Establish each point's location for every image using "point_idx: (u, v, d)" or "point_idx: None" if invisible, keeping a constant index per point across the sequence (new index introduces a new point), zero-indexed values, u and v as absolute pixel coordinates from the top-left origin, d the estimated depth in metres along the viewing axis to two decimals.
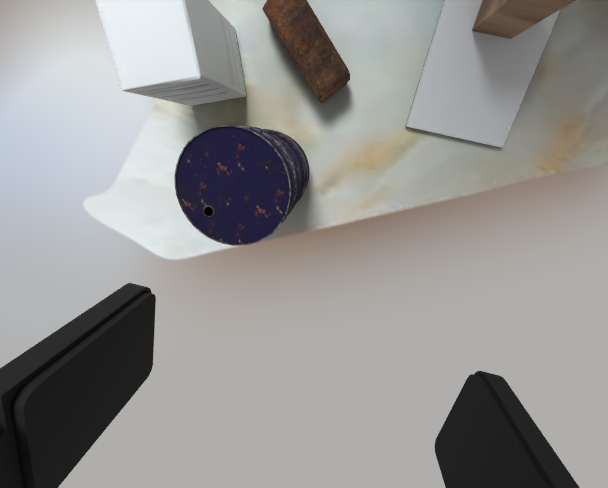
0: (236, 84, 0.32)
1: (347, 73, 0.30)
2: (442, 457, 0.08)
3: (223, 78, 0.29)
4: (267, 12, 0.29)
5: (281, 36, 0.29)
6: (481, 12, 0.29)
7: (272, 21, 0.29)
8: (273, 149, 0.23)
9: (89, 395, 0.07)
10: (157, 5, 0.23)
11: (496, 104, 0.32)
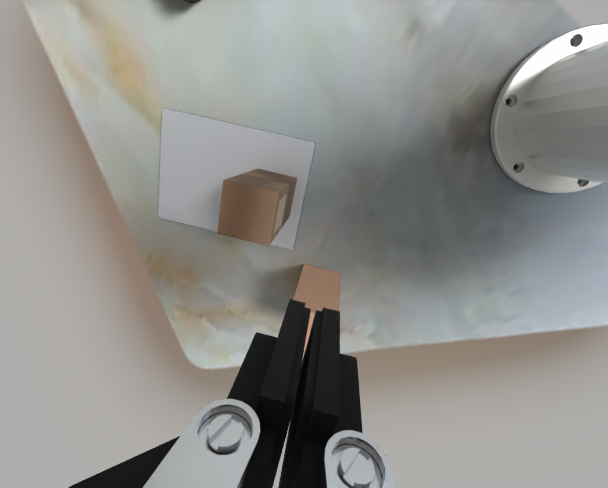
0: None
1: None
2: None
3: None
4: None
5: None
6: (268, 172, 0.28)
7: None
8: None
9: None
10: None
11: (195, 204, 0.31)
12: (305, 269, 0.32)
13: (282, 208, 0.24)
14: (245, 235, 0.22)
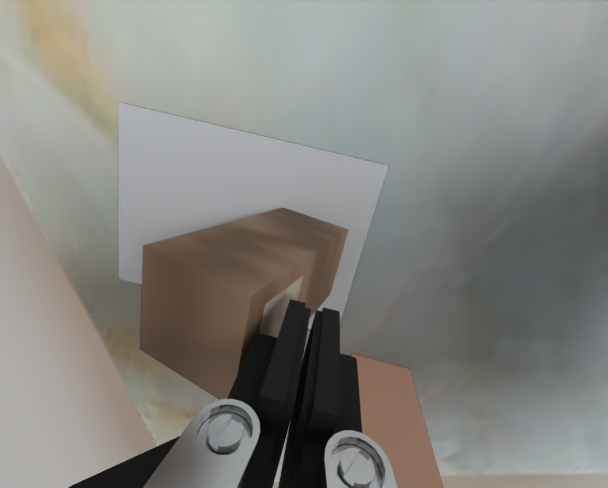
0: None
1: None
2: None
3: None
4: None
5: None
6: (296, 216, 0.16)
7: None
8: None
9: None
10: None
11: None
12: (357, 367, 0.19)
13: None
14: (186, 369, 0.10)
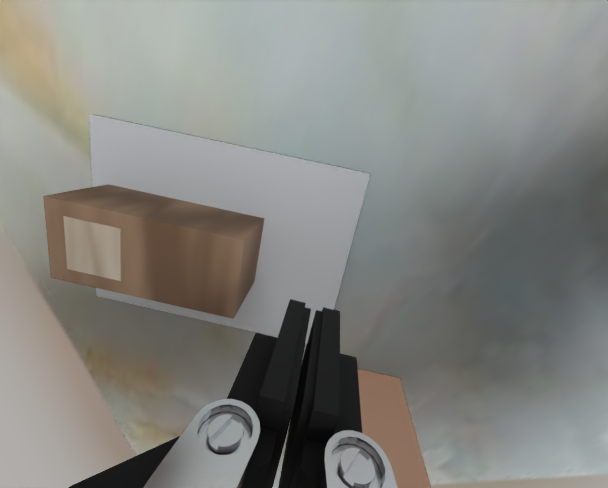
0: None
1: None
2: None
3: None
4: None
5: None
6: (241, 220, 0.15)
7: None
8: None
9: None
10: None
11: None
12: None
13: (102, 245, 0.13)
14: None
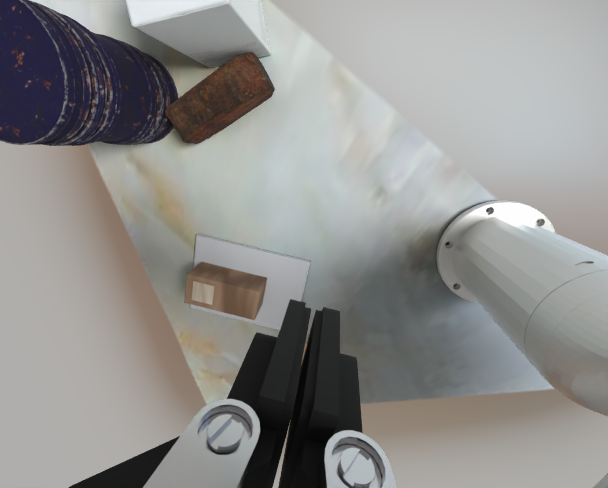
0: (202, 59, 0.29)
1: (184, 140, 0.31)
2: None
3: (180, 48, 0.25)
4: (237, 56, 0.28)
5: (216, 71, 0.29)
6: (258, 280, 0.38)
7: (229, 61, 0.28)
8: (55, 125, 0.21)
9: None
10: None
11: None
12: None
13: (206, 292, 0.36)
14: None
